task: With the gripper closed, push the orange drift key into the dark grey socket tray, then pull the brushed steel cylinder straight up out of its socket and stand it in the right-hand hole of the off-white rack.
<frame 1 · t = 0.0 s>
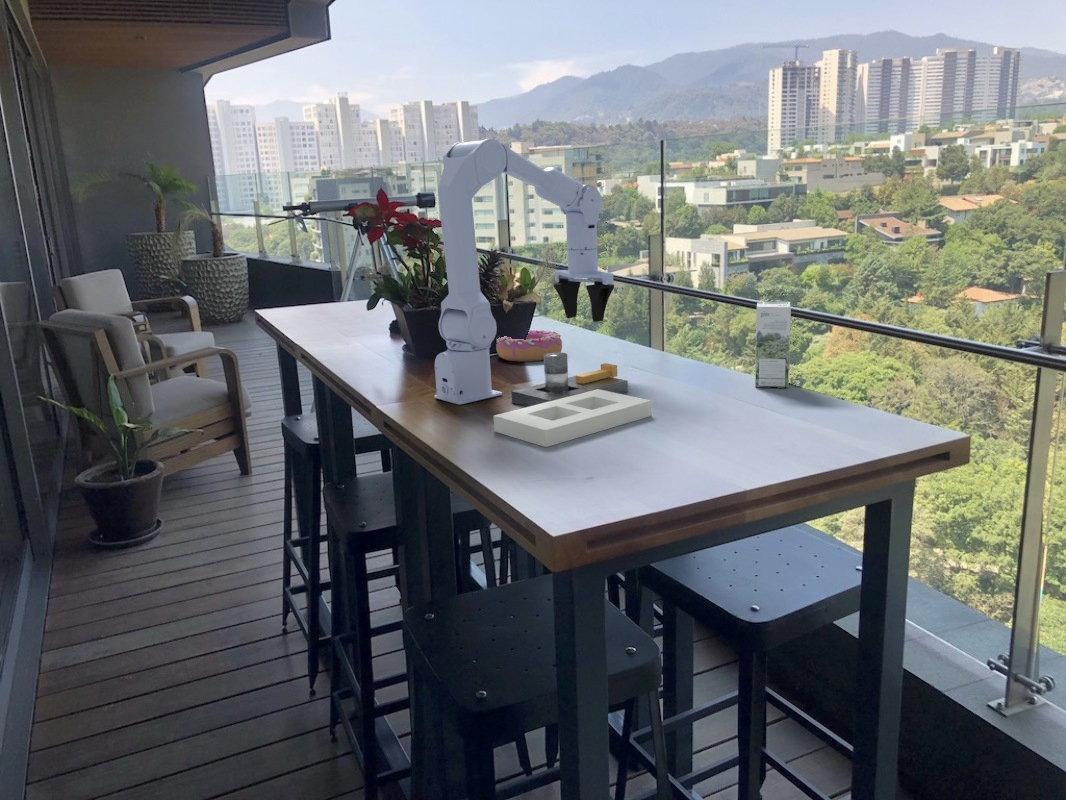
hand: (584, 319, 170), 10 cm above the table, tool pointing down, fingers open, 7 cm apart
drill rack: (574, 423, 135), on the table
syrup box: (771, 385, 153), on the table
brushed steel cylinder: (556, 377, 148), in the dark grey socket tray
donut: (529, 357, 188), on the table
drift key: (595, 373, 154), point 3 cm above the table, slide at 2.0 cm
dark grey socket tray: (557, 400, 149), on the table
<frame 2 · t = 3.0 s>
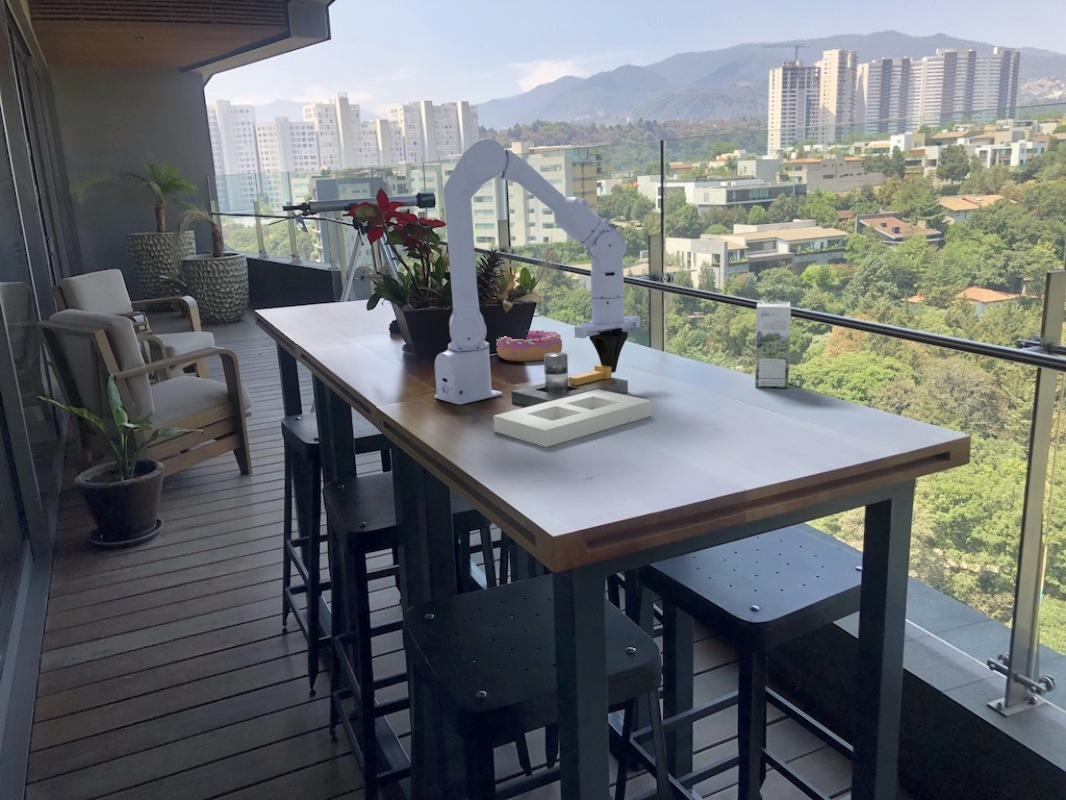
hand: (609, 371, 156), 3 cm above the table, tool pointing down, fingers closed
drift key: (589, 374, 153), point 3 cm above the table, slide at 0.5 cm, touching gripper
everything else where it was.
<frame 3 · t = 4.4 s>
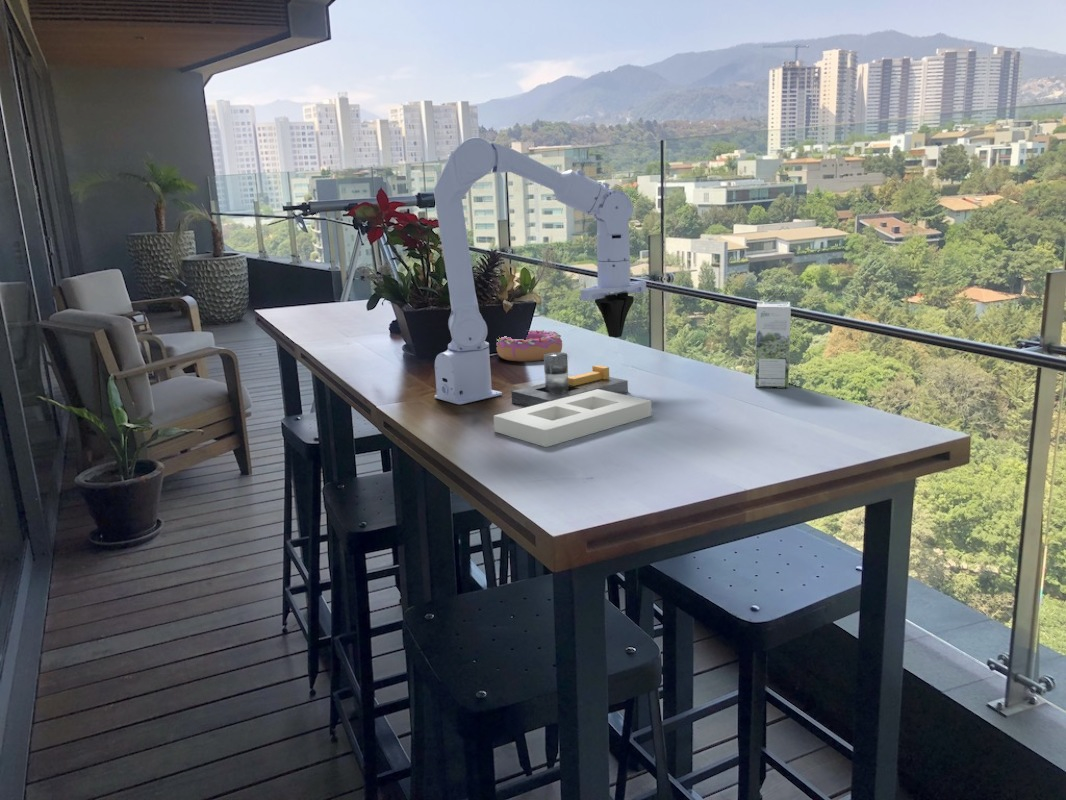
hand: (615, 336, 156), 9 cm above the table, tool pointing down, fingers closed
drift key: (587, 375, 153), point 3 cm above the table, slide at -0.1 cm
everything else where it was.
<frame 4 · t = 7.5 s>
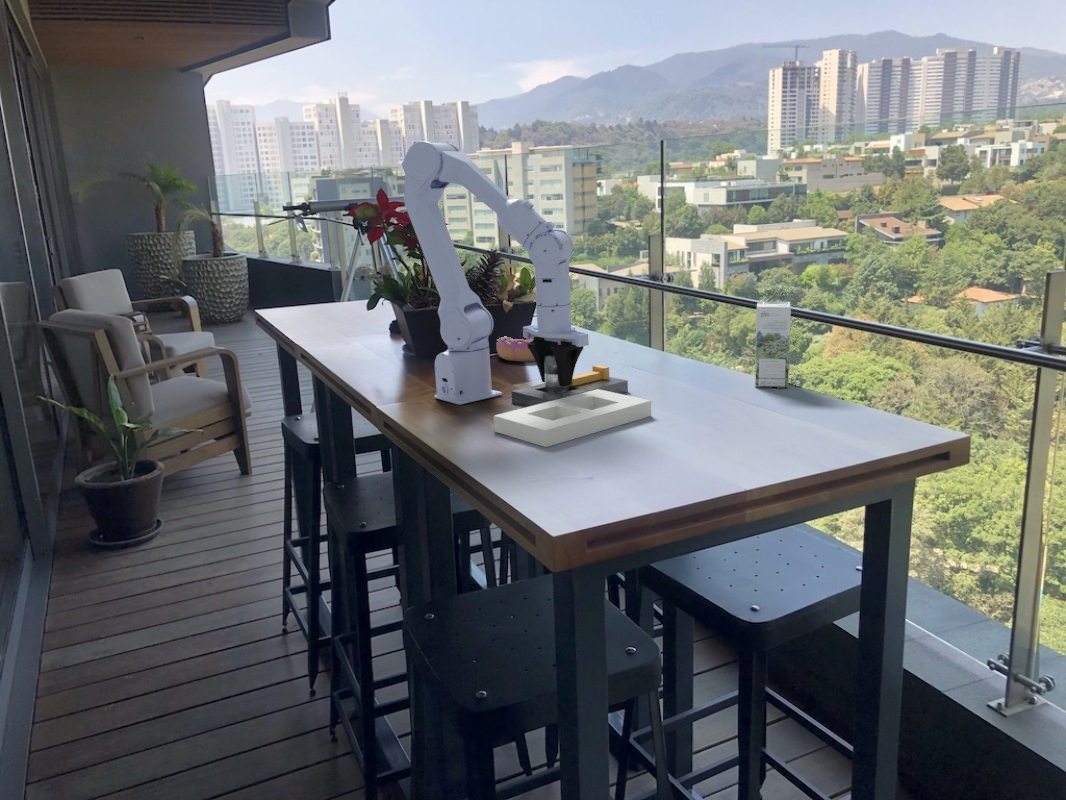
hand: (556, 383, 149), 3 cm above the table, tool pointing down, fingers closed on brushed steel cylinder, 4 cm apart
brushed steel cylinder: (556, 377, 148), in the dark grey socket tray, touching gripper
everything else where it was.
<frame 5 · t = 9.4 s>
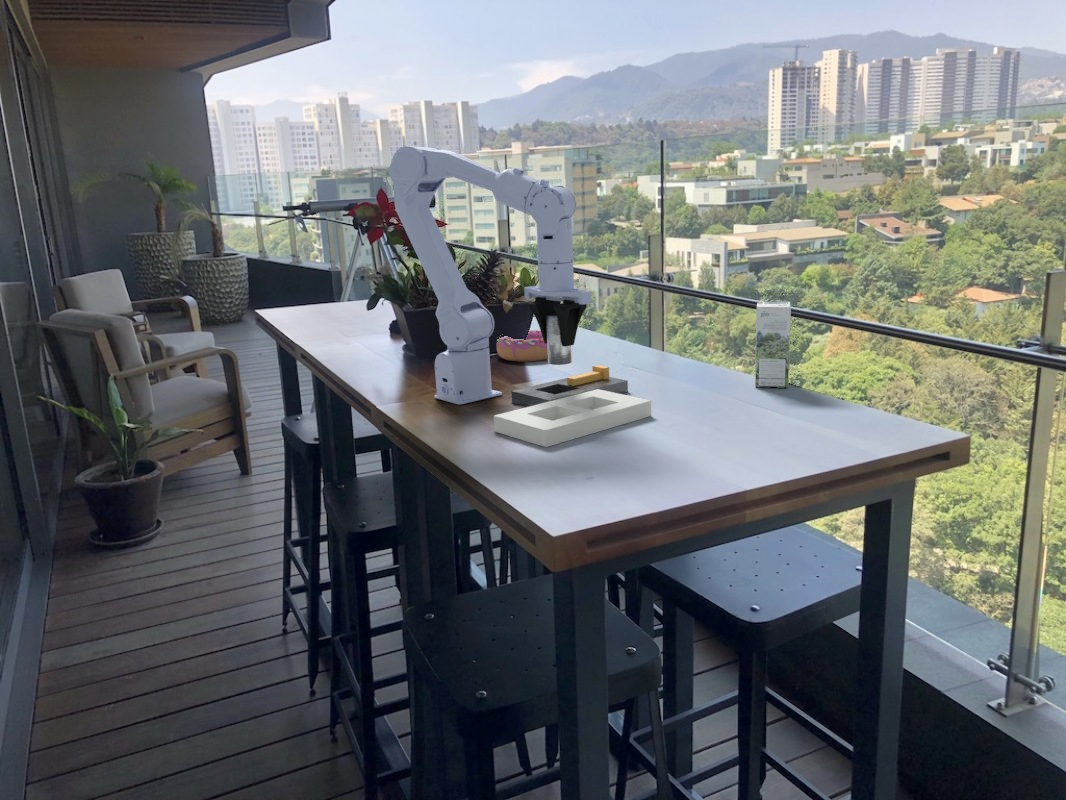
hand: (559, 344, 145), 10 cm above the table, tool pointing down, fingers closed on brushed steel cylinder, 4 cm apart
brushed steel cylinder: (558, 338, 145), point 11 cm above the table, touching gripper
everything else where it was.
when the fingers open (5 cm above the table, at t = 11.5 s): brushed steel cylinder drops 2 cm, resting in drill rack.
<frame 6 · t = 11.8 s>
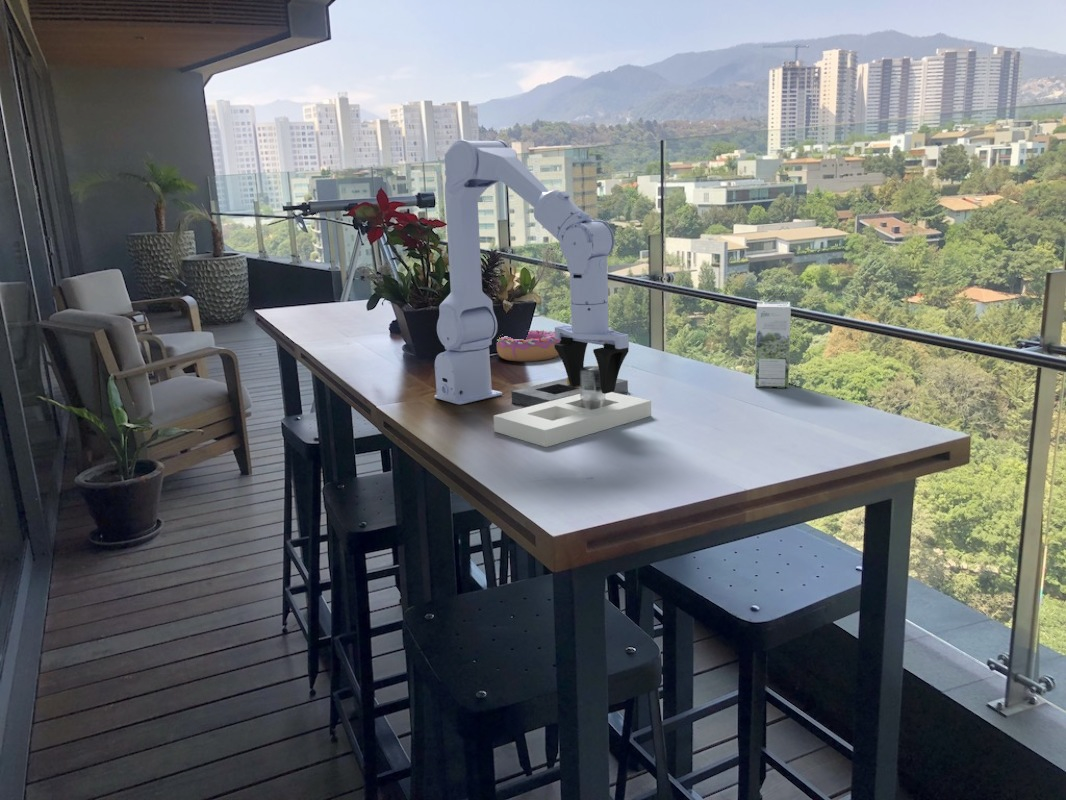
hand: (591, 388, 136), 5 cm above the table, tool pointing down, fingers open, 7 cm apart
brushed steel cylinder: (592, 393, 136), in the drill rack
everything else where it was.
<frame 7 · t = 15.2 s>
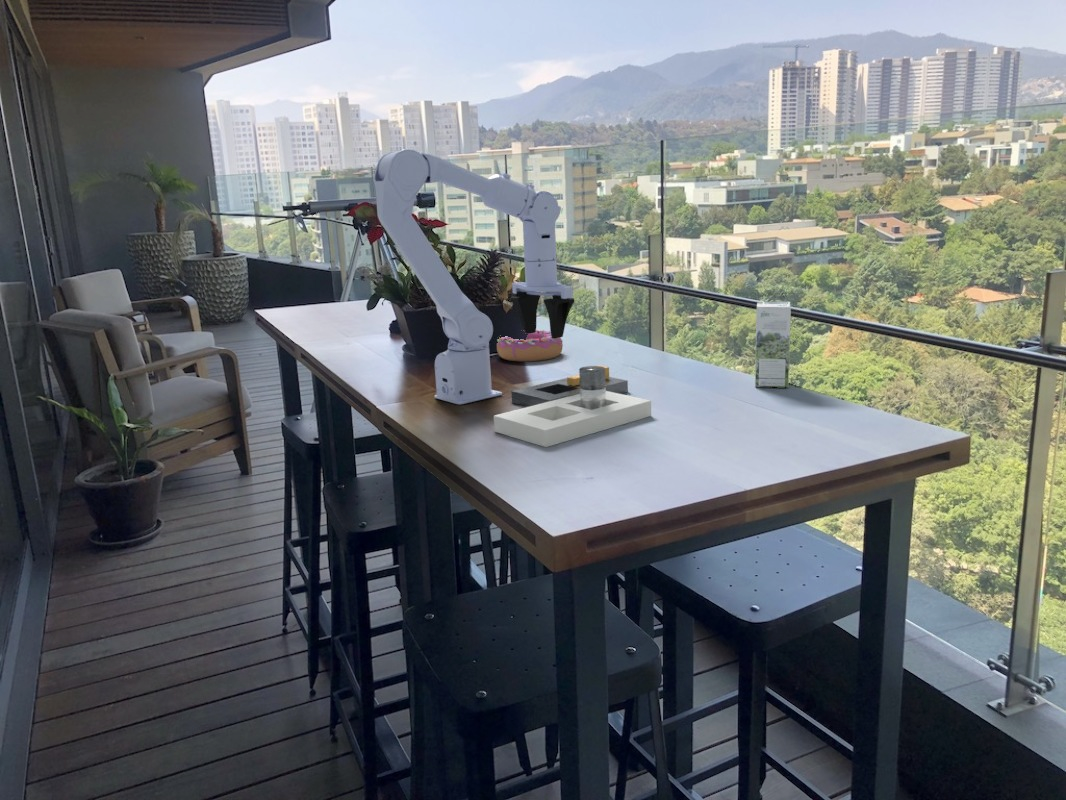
hand: (543, 335, 158), 9 cm above the table, tool pointing down, fingers open, 7 cm apart
nothing on the table moved.
at the end: drift key slide at -0.1 cm; brushed steel cylinder 0.2 cm from the target spot on the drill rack, point 4.0 cm above the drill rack's base; brushed steel cylinder tilted 0° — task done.
